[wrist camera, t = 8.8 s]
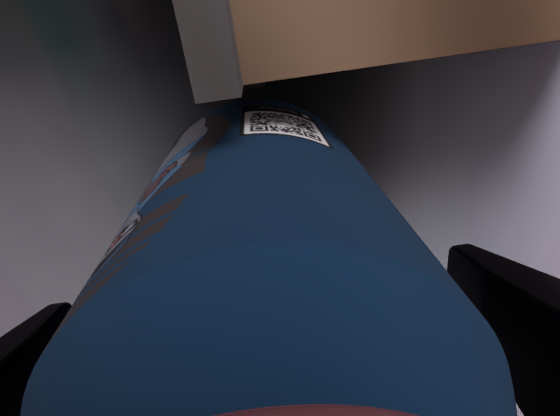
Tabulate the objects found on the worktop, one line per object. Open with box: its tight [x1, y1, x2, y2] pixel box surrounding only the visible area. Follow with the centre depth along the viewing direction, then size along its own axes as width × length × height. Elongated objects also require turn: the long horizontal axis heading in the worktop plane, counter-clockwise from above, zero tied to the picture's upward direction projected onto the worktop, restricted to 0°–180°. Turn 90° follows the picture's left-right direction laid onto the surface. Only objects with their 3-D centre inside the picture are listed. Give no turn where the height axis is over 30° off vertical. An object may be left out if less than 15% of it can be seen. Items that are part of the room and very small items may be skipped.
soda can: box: [20, 99, 517, 416], centre depth 9 cm, size 7×7×12 cm
